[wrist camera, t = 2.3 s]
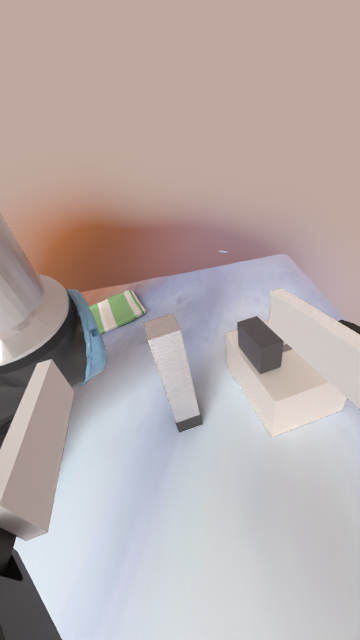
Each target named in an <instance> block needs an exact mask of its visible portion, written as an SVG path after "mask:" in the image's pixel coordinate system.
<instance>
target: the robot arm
mask: <svg viewBox="0 0 360 640" xmlns="http://www.w3.org/2000/svg"><path fill="white" fill-rule="evenodd" d="M269 328H270V329H271V330H272V331H273V332H275V333H276V334H277V335H278V336H279V337H280V338H281V339H282V340H283V341H284V342H286V343H287V344H288V345H289V346H290V347H291V348H292V349H293V350H294V351H296V352H297V353H298V354H299V355H300V356H301V357H302V358H303V359H304V360H306V361H307V362H308V363H309V364H310V365H311V366H312V367H313V368H314V369H316V370H317V371H318V372H319V373H320V374H321V375H322V376H323V377H324V378H326V379H327V380H328V381H329V382H330V383H331V384H332V385H333V386H334V387H336V388H337V389H338V390H339V391H340V392H341V393H342V394H343V395H344V396H346V397H347V398H348V399H349V400H350V401H351V402H352V403H353V404H354V405H356V406H357V407H358V408H359V409H360V327H359V326H357V325H355V324H353V323H350V322H347V321H344V320H340V321H336V320H335V319H333V318H331V317H330V316H328V315H326V314H325V313H323V312H321V311H320V310H318V309H316V308H315V307H313V306H311V305H310V304H308V303H306V302H305V301H303V300H301V299H299V298H298V297H296V296H294V295H293V294H291V293H289V292H288V291H286V290H284V289H283V288H280V289H277V290H273V291H270V316H269ZM106 363H107V355H106V349H105V346H104V342H103V339H102V336H101V334H100V332H99V331H98V327H97V324H96V321H95V318H94V316H93V314H92V312H91V310H90V308H89V306H88V304H87V302H86V300H85V299H84V297H83V296H82V294H81V293H80V292H79V291H78V290H76V289H69V290H68V289H64V287H63V286H62V285H61V284H60V283H59V282H57V281H56V280H54V279H52V278H50V277H47V276H44V275H39V274H37V272H36V270H35V269H34V267H33V266H32V264H31V263H30V261H29V259H28V257H27V256H26V254H25V253H24V251H23V249H22V248H21V246H20V244H19V243H18V241H17V240H16V238H15V237H14V235H13V233H12V231H11V230H10V228H9V227H8V225H7V223H6V222H5V220H4V218H3V217H2V215H1V213H0V640H62V639H61V637H60V635H59V633H58V631H57V629H56V627H55V625H54V623H53V621H52V619H51V617H50V615H49V613H48V611H47V609H46V607H45V605H44V603H43V601H42V599H41V597H40V595H39V593H38V591H37V589H36V587H35V585H34V583H33V581H32V579H31V577H30V576H29V574H28V572H27V570H26V568H25V566H24V564H23V562H22V560H21V558H20V556H19V554H18V552H17V551H16V550H15V549H14V548H13V547H14V543H15V539H16V536H17V537H19V538H21V539H23V540H25V541H27V540H29V539H32V538H35V537H37V536H40V535H42V534H45V533H47V532H48V528H49V523H50V518H51V513H52V507H53V502H54V497H55V491H56V486H57V481H58V476H59V470H60V465H61V460H62V454H63V449H64V444H65V439H66V433H67V428H68V423H69V417H70V412H71V407H72V402H73V396H74V390H73V388H75V387H77V386H81V385H83V384H85V383H86V382H87V381H88V380H89V379H90V378H92V377H94V376H95V375H97V374H98V373H100V372H101V371H102V370H103V369H104V368H105V366H106Z"/></svg>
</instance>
